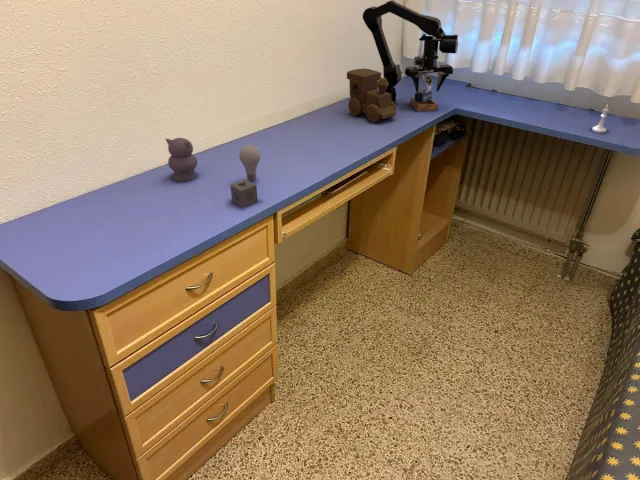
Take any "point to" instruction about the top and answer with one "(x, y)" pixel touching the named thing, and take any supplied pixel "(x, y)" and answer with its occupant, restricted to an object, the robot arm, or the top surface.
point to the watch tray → (424, 105)
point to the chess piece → (601, 122)
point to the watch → (423, 94)
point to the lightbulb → (250, 160)
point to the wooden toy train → (369, 95)
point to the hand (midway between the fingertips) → (427, 91)
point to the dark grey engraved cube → (244, 193)
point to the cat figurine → (181, 159)
